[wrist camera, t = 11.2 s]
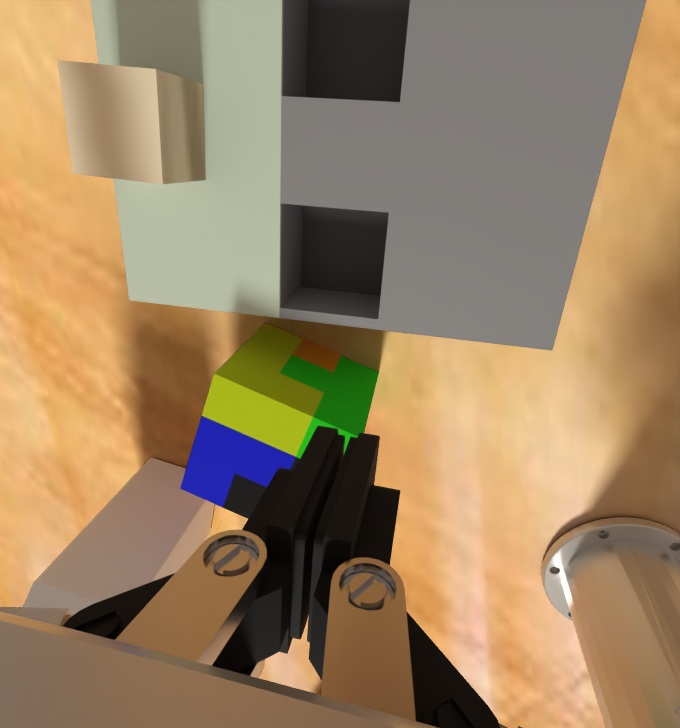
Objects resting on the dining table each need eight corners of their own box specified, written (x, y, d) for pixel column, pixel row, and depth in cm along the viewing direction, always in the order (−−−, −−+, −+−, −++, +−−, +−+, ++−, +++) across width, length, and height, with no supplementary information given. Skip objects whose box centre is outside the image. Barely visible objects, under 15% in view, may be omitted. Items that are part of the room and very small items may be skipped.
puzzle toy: (233, 418, 42) (179, 488, 33) (265, 322, 38) (214, 373, 29) (335, 462, 42) (308, 545, 33) (378, 371, 38) (362, 438, 29)
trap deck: (617, -26, 26) (666, -74, 20) (533, 319, 34) (552, 350, 29) (145, -32, 30) (81, -75, 24) (172, 279, 38) (129, 300, 32)
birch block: (203, 84, 26) (156, 68, 22) (205, 179, 28) (162, 184, 24) (120, 76, 27) (57, 60, 22) (128, 171, 29) (72, 173, 24)
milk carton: (151, 455, 46) (-17, 634, 29) (220, 477, 45) (91, 672, 28) (147, 509, 49) (-7, 700, 32) (211, 530, 48) (90, 735, 31)
